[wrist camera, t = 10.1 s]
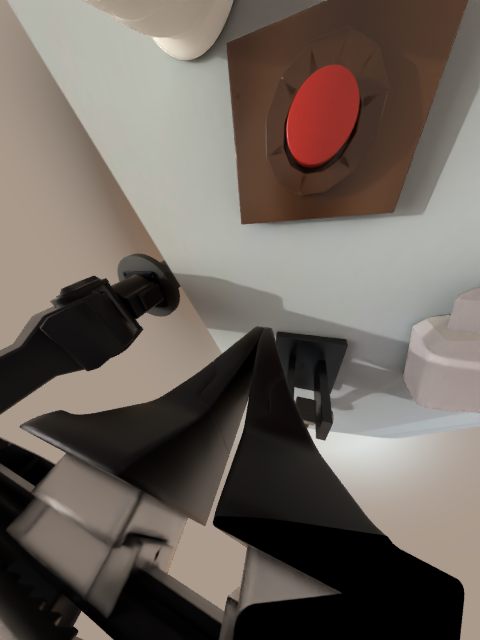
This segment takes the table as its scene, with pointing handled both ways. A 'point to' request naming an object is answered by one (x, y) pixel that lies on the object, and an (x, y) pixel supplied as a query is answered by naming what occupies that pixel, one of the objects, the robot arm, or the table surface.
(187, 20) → the jar
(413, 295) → the table surface
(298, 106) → the button
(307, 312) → the table surface
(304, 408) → the lever
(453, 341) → the charger
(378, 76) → the button block
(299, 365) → the black lever mechanism
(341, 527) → the robot arm
